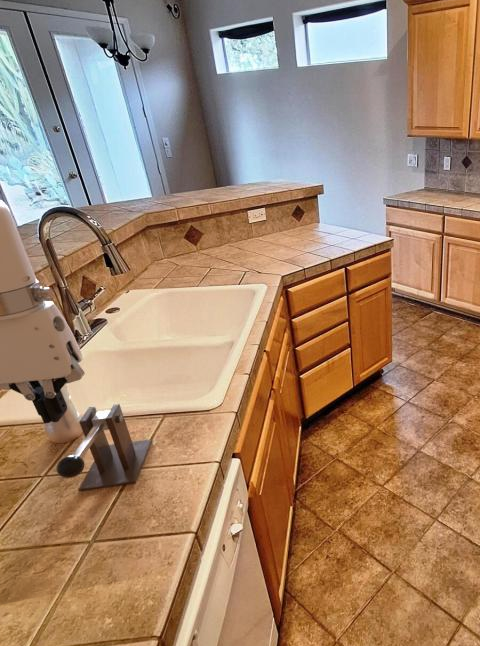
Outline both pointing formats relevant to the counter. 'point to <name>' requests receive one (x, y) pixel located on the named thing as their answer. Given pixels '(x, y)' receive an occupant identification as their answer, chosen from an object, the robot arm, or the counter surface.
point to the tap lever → (82, 448)
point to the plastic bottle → (65, 423)
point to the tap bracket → (113, 453)
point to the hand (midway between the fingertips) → (55, 416)
